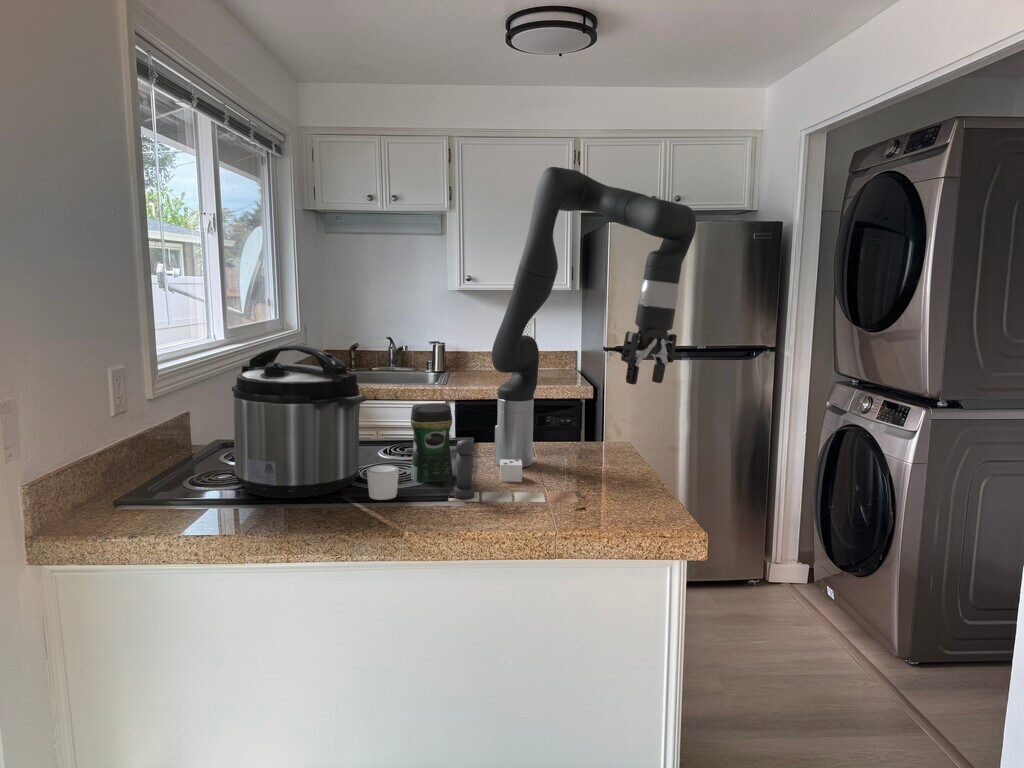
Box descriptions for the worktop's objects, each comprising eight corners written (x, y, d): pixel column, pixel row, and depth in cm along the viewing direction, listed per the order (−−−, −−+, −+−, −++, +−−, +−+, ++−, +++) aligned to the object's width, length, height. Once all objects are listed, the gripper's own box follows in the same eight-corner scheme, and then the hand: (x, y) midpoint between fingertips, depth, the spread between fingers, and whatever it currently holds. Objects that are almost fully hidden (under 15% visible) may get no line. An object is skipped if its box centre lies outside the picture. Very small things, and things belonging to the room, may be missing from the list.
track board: (441, 508, 143) (441, 503, 143) (444, 494, 153) (444, 489, 153) (585, 510, 144) (585, 505, 144) (579, 495, 154) (579, 490, 154)
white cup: (405, 498, 149) (405, 467, 148) (387, 507, 143) (386, 474, 142) (379, 493, 152) (379, 462, 151) (360, 502, 146) (359, 470, 145)
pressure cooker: (386, 490, 154) (385, 349, 150) (256, 512, 138) (250, 355, 133) (337, 460, 179) (335, 338, 174) (221, 476, 162) (215, 342, 158)
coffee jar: (447, 475, 168) (448, 399, 165) (455, 484, 160) (456, 405, 157) (407, 478, 164) (407, 401, 162) (414, 487, 157) (414, 407, 154)
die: (500, 485, 160) (500, 464, 159) (499, 479, 165) (500, 458, 164) (521, 486, 160) (522, 464, 159) (520, 479, 165) (521, 459, 164)
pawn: (449, 495, 148) (450, 439, 146) (466, 492, 151) (467, 436, 149) (461, 501, 145) (462, 443, 143) (478, 497, 148) (479, 440, 146)
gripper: (663, 303, 146) (650, 378, 149) (619, 300, 137) (607, 380, 140) (693, 308, 141) (679, 386, 144) (650, 305, 131) (636, 388, 134)
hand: (644, 383), depth 142 cm, fingers open, 8 cm apart
